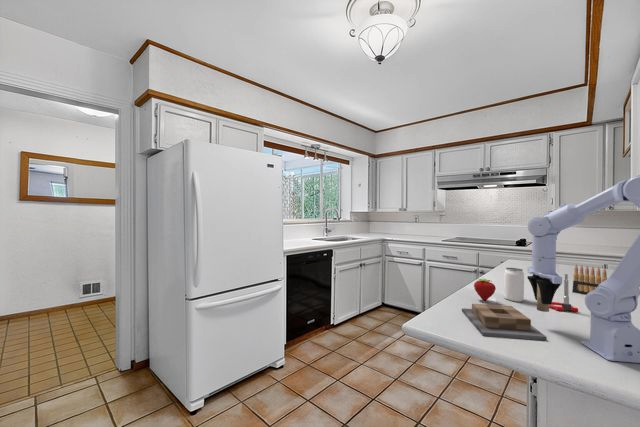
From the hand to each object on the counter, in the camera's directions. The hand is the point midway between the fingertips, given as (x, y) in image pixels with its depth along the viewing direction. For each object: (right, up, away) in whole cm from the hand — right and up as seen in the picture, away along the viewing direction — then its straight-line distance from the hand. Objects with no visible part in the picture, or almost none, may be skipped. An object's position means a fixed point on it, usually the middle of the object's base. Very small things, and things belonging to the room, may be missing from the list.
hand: (543, 302), depth 89 cm
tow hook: (+19, -8, +18) cm, 28 cm away
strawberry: (-4, -7, +25) cm, 27 cm away
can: (+9, -7, +27) cm, 29 cm away
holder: (-12, -8, +2) cm, 14 cm away
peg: (0, -2, 0) cm, 2 cm away
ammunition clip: (+45, -7, +34) cm, 57 cm away
